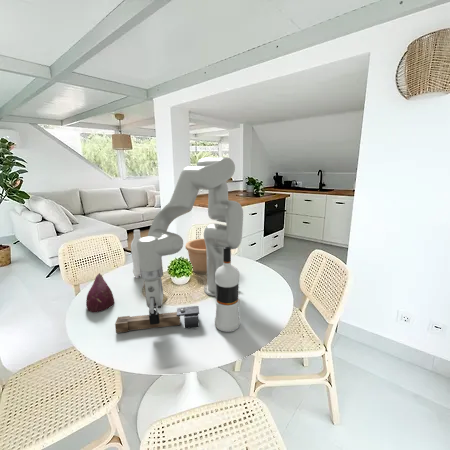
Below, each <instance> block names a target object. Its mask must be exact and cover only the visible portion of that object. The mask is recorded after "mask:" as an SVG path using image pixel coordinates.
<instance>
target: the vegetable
mask: <svg viewBox="0 0 450 450" xmlns="http://www.w3.org/2000/svg"><path fill="white" fill-rule="evenodd" d="M113 294H114V293H113V291H112V290H111V288H110V286H109V285H108V283H107V282H106V280H105V279H104V277H103V275H102V274H101V273H98V274H97V275H96V277H95V278H94V281H93V283H92V285H91V287H90V288H89V290H88V292H87V295H86V301H85V302H86V304H85V305H86V309H87V311H88V312H90V313H96V314H97V313H101V312H104V311H107V310H108V309H110V308H112V307H113V306H114V304H115V298H114V295H113Z"/></svg>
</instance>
